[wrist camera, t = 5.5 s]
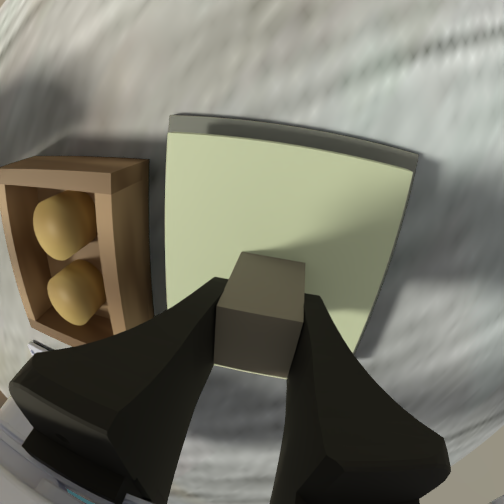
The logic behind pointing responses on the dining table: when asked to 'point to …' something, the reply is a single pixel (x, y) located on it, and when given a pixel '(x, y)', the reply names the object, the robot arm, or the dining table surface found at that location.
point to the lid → (277, 239)
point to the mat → (303, 139)
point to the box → (79, 243)
